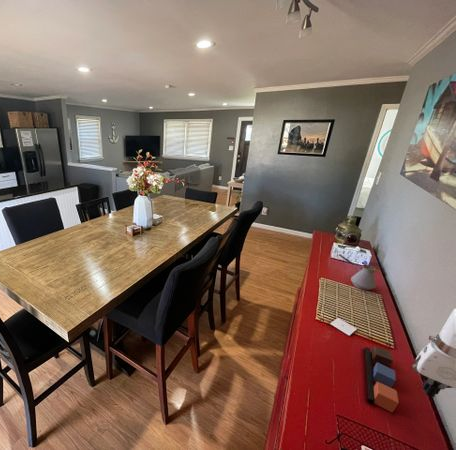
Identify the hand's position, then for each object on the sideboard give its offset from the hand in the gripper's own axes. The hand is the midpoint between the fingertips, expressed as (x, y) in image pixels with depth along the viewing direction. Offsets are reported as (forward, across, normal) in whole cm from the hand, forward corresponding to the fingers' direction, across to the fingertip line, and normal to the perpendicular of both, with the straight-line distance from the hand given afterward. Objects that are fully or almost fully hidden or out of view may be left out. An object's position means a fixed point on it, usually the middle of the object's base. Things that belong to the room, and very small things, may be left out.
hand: (428, 391), depth 74 cm
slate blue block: (+10, -8, +8) cm, 15 cm away
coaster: (+10, -20, +31) cm, 38 cm away
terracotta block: (+10, -8, -2) cm, 13 cm away
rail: (+10, -12, +8) cm, 17 cm away
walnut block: (+10, -8, +18) cm, 22 cm away
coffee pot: (+11, -16, +78) cm, 81 cm away
